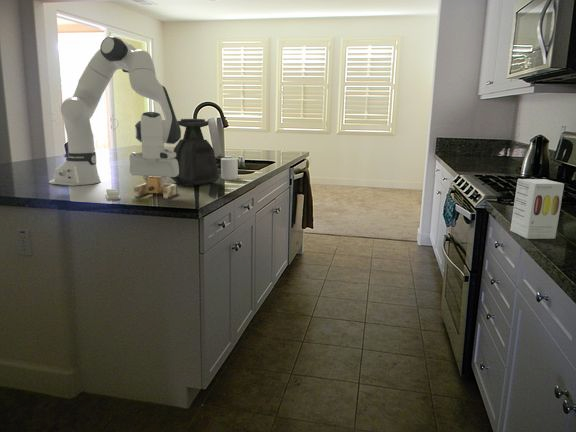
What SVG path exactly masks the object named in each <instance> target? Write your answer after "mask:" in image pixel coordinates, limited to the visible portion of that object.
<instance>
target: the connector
mask: <svg viewBox="0 0 576 432" xmlns="http://www.w3.org/2000/svg"><path fill="white" fill-rule="evenodd" d="M161 181H162V179H161V177H159V176H149V178H147V183H148V193H147V194H160V193H159V192H161V191H162V187H159V183H160V182H161Z"/></svg>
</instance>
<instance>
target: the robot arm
mask: <svg viewBox="0 0 576 432" xmlns="http://www.w3.org/2000/svg"><path fill="white" fill-rule="evenodd" d="M117 70H121V71H122V72H123V73H128V79H129V83H130V87H131V89H132V90H133V91H134V92H135V93H136V94H138V95H139V96H141V97H143V98H146V99H149V100H153V101H154V102H156V103H158V104H159V106H160V107H161V110H162V113H163V116H164V119H163V118H162V114H160V113H158V112H156V111H145V112H143V113H141V117H140V119H141V120H139V121H138V122H136V124H135V125H134V127H135V138H136V139H137V140H138V141H139V142H140V143H141V152H132V153H131V154H130V155H129V173H130V175H131V176H142V178H143V181H144V183H146V186H147V187H148V183H147V178H149V177H152V176H161V179H162V181H161V182H160V183H159V187H164V184H165V181H166V179H167V178H170V177H176V176H178V175H179V166H178V161H177V159H175V157H176V153H175V152H173V151H174V150H170V149H167V148H165V144H168V145H170V144H171V145H175V144H176V143H178V142H179V141H180V140H181V139H182V129H181V126H180V125H179V123H178V121H179V120H178V119H177V115H176V113H175V111H174V107H173V105H172V101H171V99H170V95H169V93H168V91H167V88H166V87H165V86H164V85H162V84H161V83H160V82H159V80H158V78H157V75H156V74H157V73H156V70H155V65H154V61H153V59H152V56H151V54H150V52H148V51H147V50H144V49H137V48H136V47H135V46H134V45H132V44H130V43H128V42H126V41H124V40H122V38H119V37H117V36H114V35H108V36H106V37H105V38H104V39H103V40H102V42H101V43H100V49H98V50H97V51H96V52H95V53H94V55H93V56H92V57H91V59H89V62H88V63H87V65H86V67H85V69H84V71H83V72H82V74H81V75H80V78H79V79H78V82H77V85H76V88H75V90H74V93H73V95H72V97H67V98H65V99H64V101H62V103H61V106H60V113H61V115H62V120H63V125H64V129H65V132H66V138H67V146H68V147H67V148H68V152H67V153H64V155H63V158H65V161H64V162H63V163H61V164H60V165H59V166H58V167H56V168H55V170H54V172H53V179H51V180H49V181H48V184H53V185H62V186H71V187H72V186H75V187H76V186H83V185H95V184H99V183H101V178H100V175H99V172H98V168H97V153H96V151H95V141H94V140H95V139H94V133H93V130H92V126H91V121H90V119H92V117H93V116H94V113H95V111H96V109H97V107H98V105H99V103H100V101H101V98H102V96H103V93H104V92H105V90H107V89H106V88H107V87H108V85H109V83H110V82H111V80H112V78H113V76H114V74H115V72H117Z"/></svg>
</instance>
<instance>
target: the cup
mask: <svg viewBox="0 0 576 432" xmlns="http://www.w3.org/2000/svg"><path fill="white" fill-rule="evenodd" d="M238 162H239V161H238V158H236V157H222V158H220V169H221V171H220V176H221V179H222V180H223V181H224V180H225V181H234V180H235V181H236V180H237V179H238V177H239V176H238V175H239V174H238V171H239V169H238V168H239V167H238V166H239V165H238V164H239V163H238Z"/></svg>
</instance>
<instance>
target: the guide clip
mask: <svg viewBox="0 0 576 432" xmlns="http://www.w3.org/2000/svg"><path fill="white" fill-rule="evenodd" d="M105 192H106V194H105V199H106V200H107V201H110V200H111V201H112V200H115V201H116V200H121V196H120V192H119V191H118V188H108V189H107V188H106V191H105Z"/></svg>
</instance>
